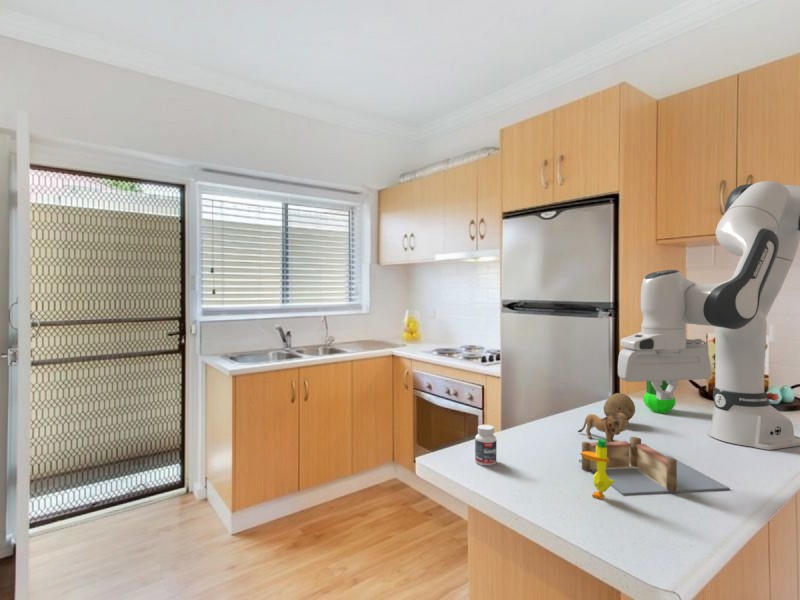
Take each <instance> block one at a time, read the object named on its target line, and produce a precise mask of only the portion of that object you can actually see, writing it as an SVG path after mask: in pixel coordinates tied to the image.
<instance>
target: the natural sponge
mask: <svg viewBox="0 0 800 600" xmlns="http://www.w3.org/2000/svg"><path fill="white" fill-rule="evenodd" d="M603 413H604V415H605V417H606V416H610V415H613V414H616V413H623V414H624V415H625V416H626V417H627V420H628V421H630V420H632V418H633V416H634V415H635V414H636V405H635V402H634V401H633V399H632V398H631V397H630V396H628V395H627V394H624V393H620V392H615V393H614V394H611V395H610V396H609V397H608V398H607V399H606V401H605V403H604V405H603Z"/></svg>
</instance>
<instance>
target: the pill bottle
mask: <svg viewBox="0 0 800 600" xmlns="http://www.w3.org/2000/svg"><path fill="white" fill-rule="evenodd" d="M494 434H495V427H494V426H493V425H491V424H480V425H478V426H477V434H476V435H475V438H474V439H475V440H474V461H475V462H476V463H477V464H478V465H481V466H487V467H488V466H489V467H490V466H493V465H495V464H497V437H496V436H495V435H494Z"/></svg>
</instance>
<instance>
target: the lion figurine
mask: <svg viewBox="0 0 800 600" xmlns="http://www.w3.org/2000/svg"><path fill="white" fill-rule="evenodd" d="M629 421H630V420H627V417H626V416H625V415H624V414H623V413H616V414H613V415H610V416H606V415H605V416H604V417H600V416H597V414H593V413H589V414H588V415H587V416H586V417H585V420H584V423H583V427H582V428H581V429H579V430H577V432H578V433H582V432H583V431H584V430H585V428H586V430H585V432H586V435H587V439H589V440H592V439H593V436H592V435H591V434H592V432H591V429H593V428H595V429H596V430H597V431H600V432H602V433H605V439H606V440H605V441H606V442H617V441H616V440H614V437H615V436H618V435H620V434H621V433H622V432H625V431H626V430H627V429H628V426H629V424H630V422H629Z"/></svg>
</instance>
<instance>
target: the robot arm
mask: <svg viewBox="0 0 800 600" xmlns="http://www.w3.org/2000/svg"><path fill="white" fill-rule="evenodd" d="M715 237H716V241H717V242H718V243H719V245H720V246H721V247H722V248H723V249H724V250H726V251H727V252H728V253H731V254H732V255H735V256H738V257H739V260H738V263H737V266H736V268H735V269H734V273H733V275H732V277H730V278H729V279H727V280H725V281H722V282H715V283H696V282H695V281H692V280H690V279H687V278H686V277H684V275H682V273H681V271H680V270H676V269H666V270H660V271H653V272H651V273H648V274H647V275H645V276H644V277H643V280H642V283H641V288H640V289H641V290H640V311H641V314H642V322H641V331H639V332H636V333H635V334H631V335H629V336H626V337H623V338H621V339H620V346H621V348H622V349H621V350H620V351H619V353H618V360H617V376H618V377H619V378H620V380H622V381H625V382H628V383H633V382H635V383H637V382H638V383H639V382H647V381H651V384H652V386H653V387H654V389H655V391H656V397H657V399H659V400H671V399H673V396H674V392H675V391H676V389H677V387H679V381H690V380H691V381H693V380H696V381H697V380H709V379H710V377H711V376H712V374H713V373H712V365H711V358H710V354H709V345H708V343H707V342H706V341H704V340H703V339H701V338H695V339H694V338H693V339H690V338H687V331H686V330H687V327H686V324H687V325H688V324H689V325H696V326H697V325H698V326H710V327H711V326H712V327H715V335H714V336H715V339H714V340H715V341H714V342H715V343H714V345H715V346H714V347H715V348H714V349H715V352H714V354H715V355H714V358H715V359H714V360H715V361H714V371H715V372H714V379H715V380H714V386H713V391H712V392H713V393H712V398H713V402H714V406H713V411H712V417H711V422H710V426H709V430H708V432H707V434H708V435H709V436H710V437H712V438H714V439H716V440H720V441H723V442H724V443H725V442H727V443H729V444H734V445H740V446H745V447H752V448H757V449H762V450H766V451H772V450H777V449H786V448H791V447H800V437H799V436H797V435H795V431H794V425H793V422H792V420H791V419H790V418H788V417H787V416H786V415H785V414H783V413H782V412H780V411H779V410H778V409H776V408H775V407H773V406H772V404H771V400H772V401H774V402H778V400H780V396H779V393H778V394H777V393H773V392H768V393H767V392H766V391H765V362H766V361H765V359H766V347H767V346H766V345H767V317H768V314H769V313H770V311H771V309H772V307H773V305H774V303H775V300H776V299H777V296H778V294H779V293H780V291H781V289H782V287H783V285H784V283H785V281H786V279H787V276H788V274H789V271H790V269H791V266H792V264H793V262H794V260H795V257H796V255H797V252H798V248H799V244H800V185H796V184H786V183H785V184H782V183H780V182H777V181H773V180H764V181H763V180H762V181H758V182H755V183H749V184H748V183H747V184H741V185H738V186H737V187H735V188H734V189H732V190H731V192H730V193H729V195H728V197H727V198H726V202H725V205H724V214H723V216H722V217H721V218H720V220H719V222H718V223H717V226H716V229H715ZM662 381H667V383H668V386H667V389H666V391H663V390H662V389H661V387H660V385H662Z"/></svg>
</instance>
